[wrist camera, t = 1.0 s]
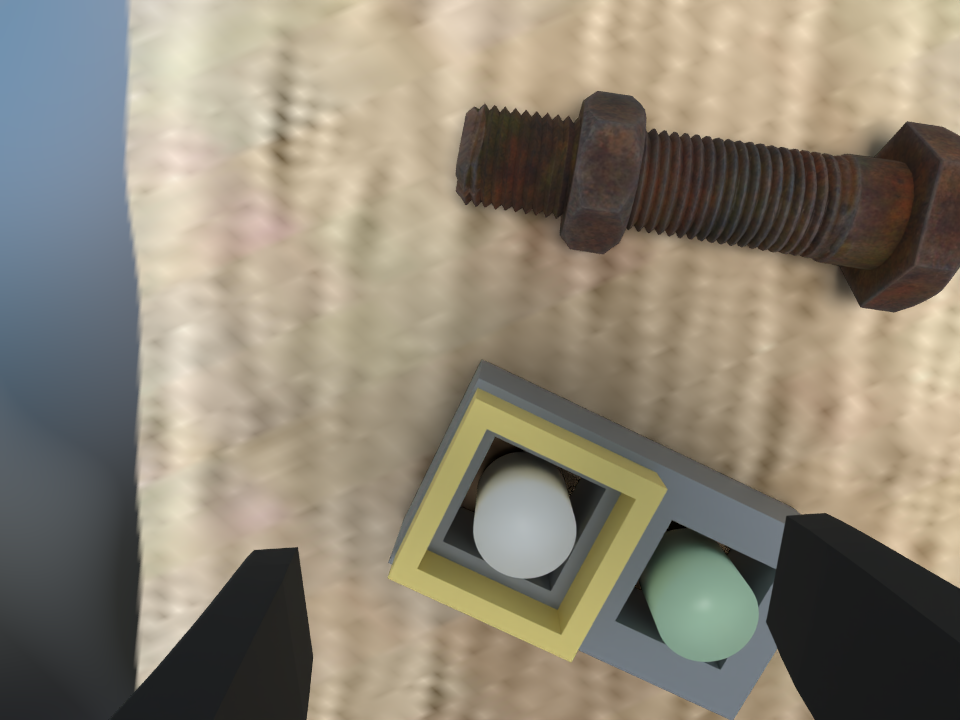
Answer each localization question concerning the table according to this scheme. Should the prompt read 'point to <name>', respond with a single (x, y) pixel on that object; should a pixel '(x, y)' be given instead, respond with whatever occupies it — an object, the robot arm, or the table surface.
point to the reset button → (523, 516)
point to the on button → (698, 597)
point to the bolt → (728, 192)
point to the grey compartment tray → (589, 539)
